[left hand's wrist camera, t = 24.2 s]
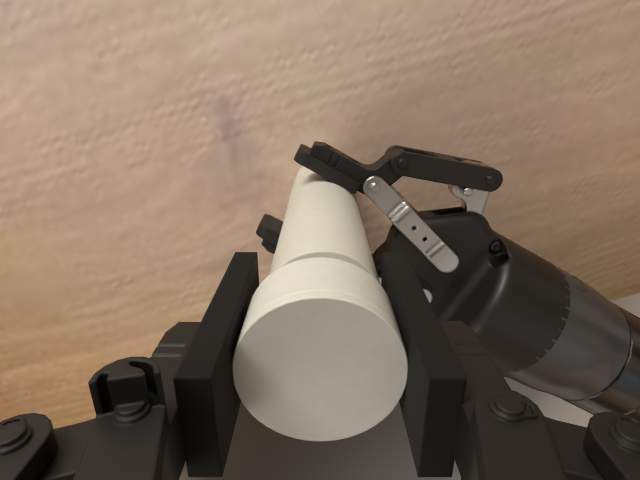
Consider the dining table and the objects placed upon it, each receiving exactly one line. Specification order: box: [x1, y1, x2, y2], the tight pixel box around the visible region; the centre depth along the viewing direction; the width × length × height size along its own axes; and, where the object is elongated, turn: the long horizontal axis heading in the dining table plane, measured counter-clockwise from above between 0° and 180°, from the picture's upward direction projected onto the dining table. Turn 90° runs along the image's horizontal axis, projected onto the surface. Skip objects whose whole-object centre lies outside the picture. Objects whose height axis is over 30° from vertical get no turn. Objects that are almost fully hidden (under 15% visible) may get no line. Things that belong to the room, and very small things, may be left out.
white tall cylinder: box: [269, 166, 380, 284], centre depth 20 cm, size 4×4×19 cm
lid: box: [232, 257, 408, 441], centre depth 11 cm, size 4×4×2 cm
